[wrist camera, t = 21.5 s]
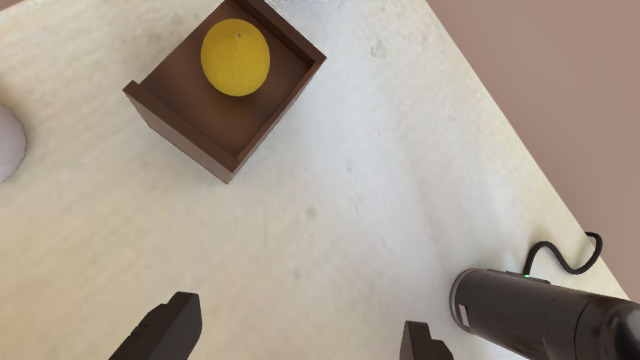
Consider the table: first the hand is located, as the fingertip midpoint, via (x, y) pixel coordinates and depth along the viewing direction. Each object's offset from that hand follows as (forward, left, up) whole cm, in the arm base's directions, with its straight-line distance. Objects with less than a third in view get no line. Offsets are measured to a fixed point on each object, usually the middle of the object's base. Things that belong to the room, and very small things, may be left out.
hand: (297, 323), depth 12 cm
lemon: (-4, -16, -18) cm, 25 cm away
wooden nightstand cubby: (-4, -17, -28) cm, 33 cm away
